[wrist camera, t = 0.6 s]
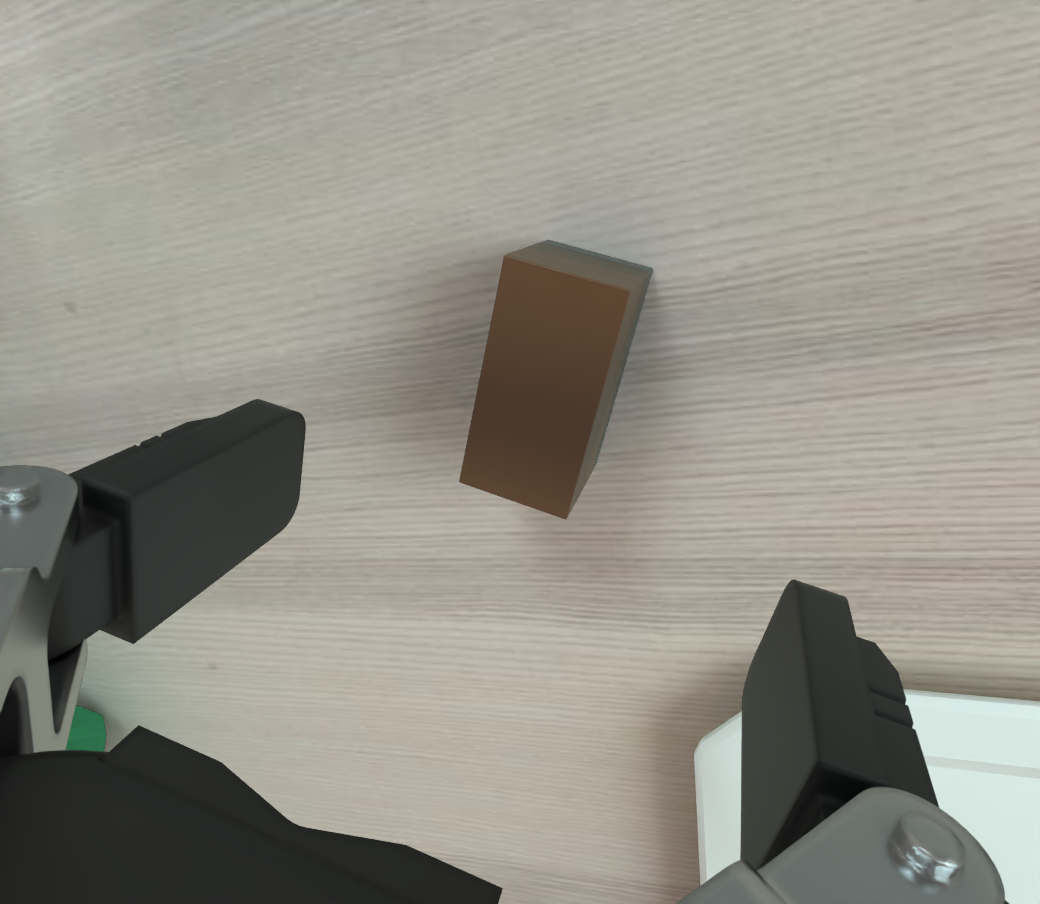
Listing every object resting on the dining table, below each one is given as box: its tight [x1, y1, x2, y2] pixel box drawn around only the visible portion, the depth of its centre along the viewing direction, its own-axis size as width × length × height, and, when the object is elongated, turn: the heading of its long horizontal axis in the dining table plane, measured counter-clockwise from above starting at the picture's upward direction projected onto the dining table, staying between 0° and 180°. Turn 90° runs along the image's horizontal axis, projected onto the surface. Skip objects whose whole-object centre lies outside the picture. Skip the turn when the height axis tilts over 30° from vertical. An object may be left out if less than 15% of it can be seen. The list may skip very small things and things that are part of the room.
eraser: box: [459, 240, 653, 519], centre depth 25 cm, size 8×4×5 cm, turn 167°
